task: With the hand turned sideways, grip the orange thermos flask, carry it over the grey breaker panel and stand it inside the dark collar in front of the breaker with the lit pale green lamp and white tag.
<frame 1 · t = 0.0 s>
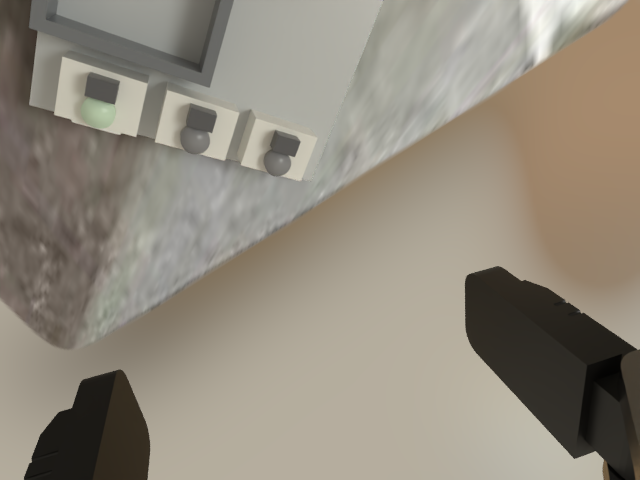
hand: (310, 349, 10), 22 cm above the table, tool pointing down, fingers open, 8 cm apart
breaker panel: (214, 37, 27), on the table
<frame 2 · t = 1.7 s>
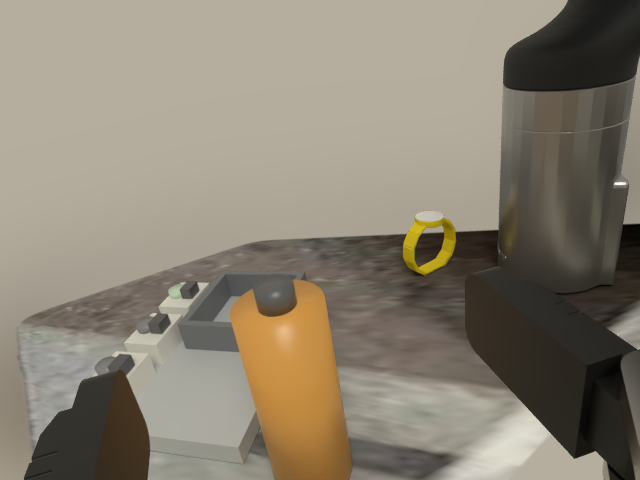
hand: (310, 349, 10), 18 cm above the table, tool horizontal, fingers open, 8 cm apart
orange thermos flask: (313, 466, 28), on the table
watch: (430, 269, 47), on the table
breaker panel: (212, 364, 38), on the table
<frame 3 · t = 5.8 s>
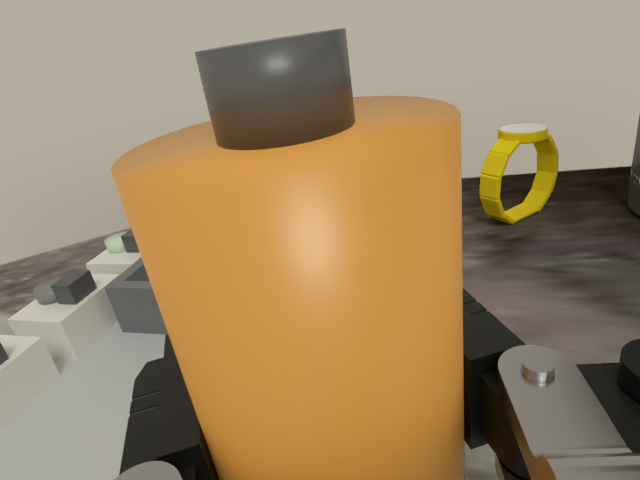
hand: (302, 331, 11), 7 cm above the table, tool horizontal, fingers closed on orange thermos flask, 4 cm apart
watch: (518, 217, 30), on the table
breaker panel: (169, 359, 22), on the table
when the fingers open (9 cm above the table, at t = 10.7 s): orange thermos flask drops 1 cm, resting on breaker panel.
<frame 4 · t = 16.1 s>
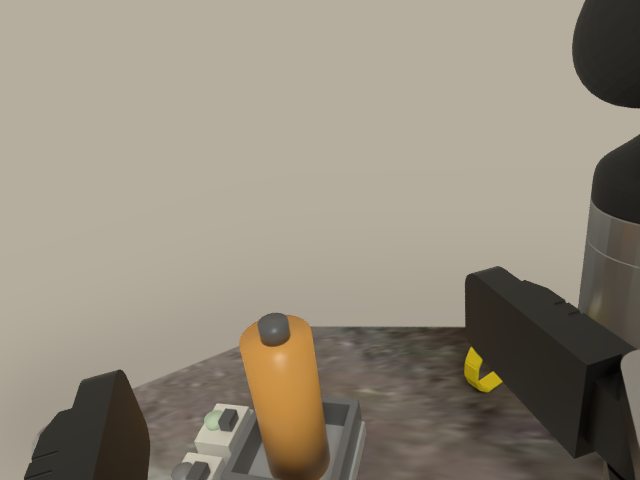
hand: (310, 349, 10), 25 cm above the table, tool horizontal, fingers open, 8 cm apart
orange thermos flask: (299, 459, 35), point 2 cm above the table, touching breaker panel
watch: (492, 383, 42), on the table
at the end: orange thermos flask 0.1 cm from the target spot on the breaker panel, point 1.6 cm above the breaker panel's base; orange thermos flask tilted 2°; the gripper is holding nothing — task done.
